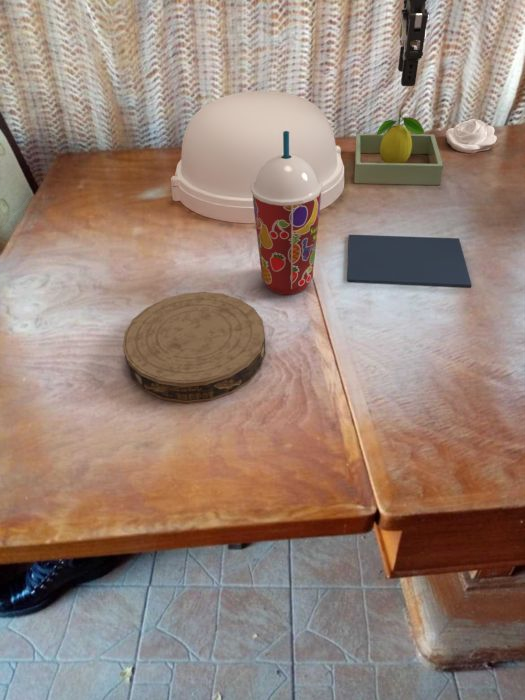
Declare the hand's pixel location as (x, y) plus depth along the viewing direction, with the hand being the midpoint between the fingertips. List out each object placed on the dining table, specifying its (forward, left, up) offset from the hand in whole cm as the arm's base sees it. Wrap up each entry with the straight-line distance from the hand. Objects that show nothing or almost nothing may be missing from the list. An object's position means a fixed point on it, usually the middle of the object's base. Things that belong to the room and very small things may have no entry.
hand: (405, 78), depth 89 cm
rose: (-15, -12, -15) cm, 25 cm away
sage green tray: (0, 0, -15) cm, 15 cm away
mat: (0, +32, -15) cm, 35 cm away
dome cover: (+24, +8, -15) cm, 30 cm away
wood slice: (+25, +54, -15) cm, 61 cm away
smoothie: (+16, +39, -15) cm, 45 cm away
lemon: (0, 0, -15) cm, 15 cm away
